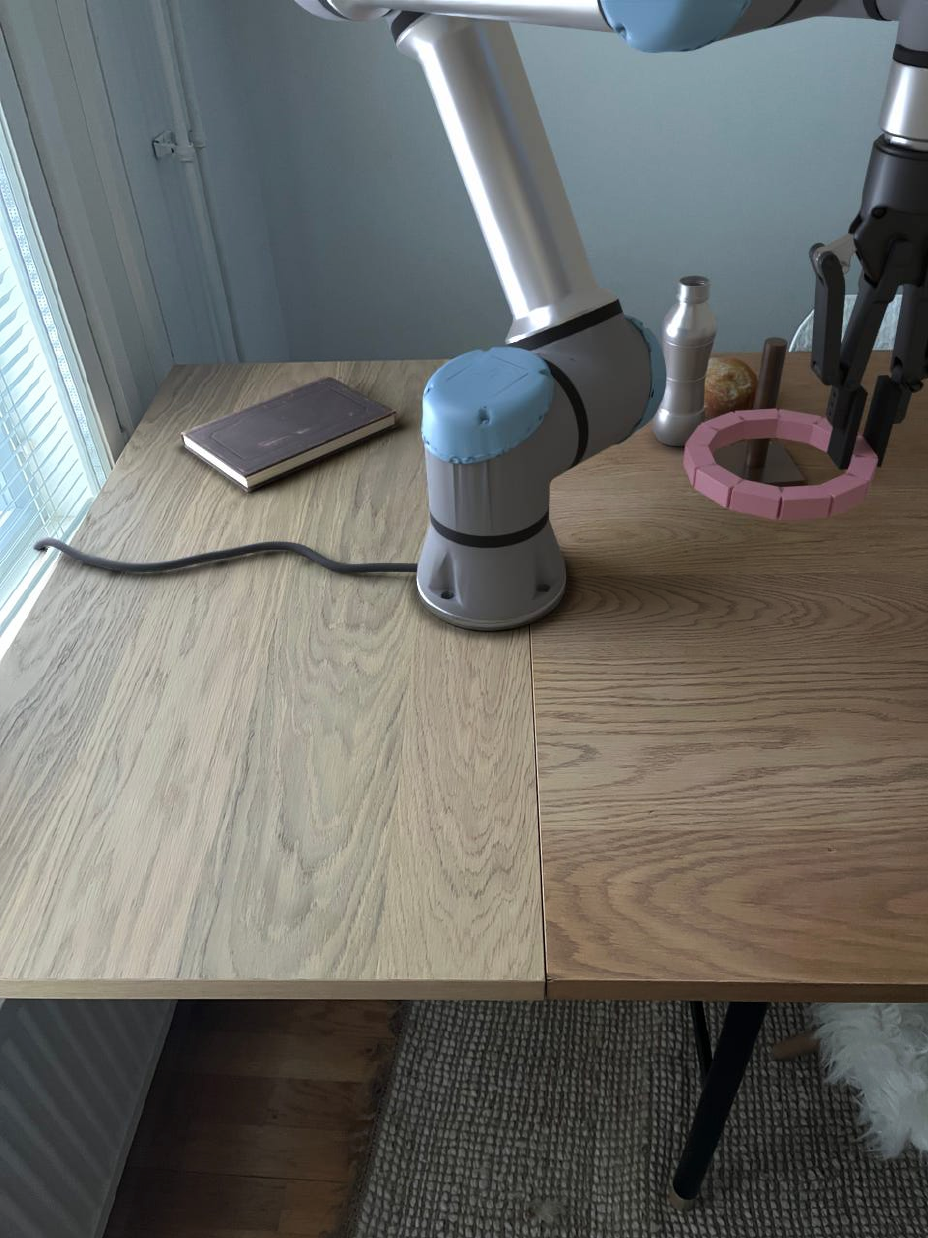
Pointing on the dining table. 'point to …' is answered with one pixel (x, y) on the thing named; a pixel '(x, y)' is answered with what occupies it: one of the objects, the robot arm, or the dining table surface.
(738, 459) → the stand
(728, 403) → the bread roll
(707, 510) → the dining table surface
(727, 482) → the ring
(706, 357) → the silver bottle
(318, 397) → the hardcover book
